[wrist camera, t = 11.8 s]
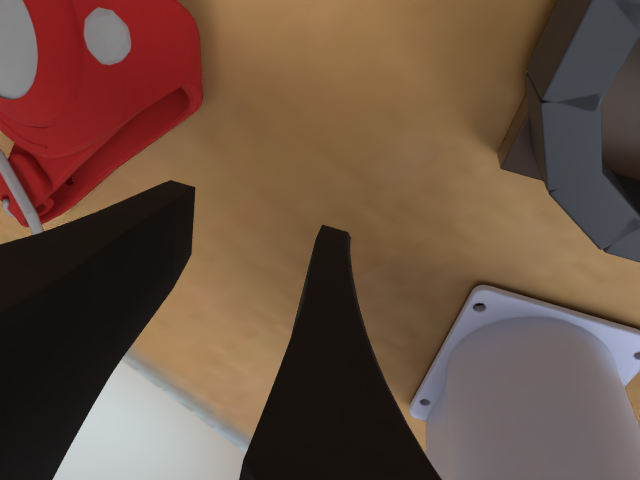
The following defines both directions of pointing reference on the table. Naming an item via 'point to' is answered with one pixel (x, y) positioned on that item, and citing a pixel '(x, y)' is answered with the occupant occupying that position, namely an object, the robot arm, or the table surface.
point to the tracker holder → (87, 93)
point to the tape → (584, 117)
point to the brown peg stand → (617, 128)
